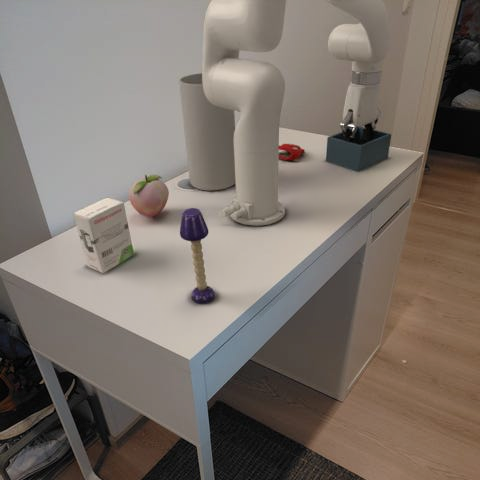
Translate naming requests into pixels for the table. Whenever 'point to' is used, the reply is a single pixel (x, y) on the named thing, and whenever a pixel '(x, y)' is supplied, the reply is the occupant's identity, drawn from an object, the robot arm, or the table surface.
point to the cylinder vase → (207, 137)
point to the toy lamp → (197, 251)
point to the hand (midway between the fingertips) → (357, 147)
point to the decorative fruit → (149, 195)
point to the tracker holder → (291, 151)
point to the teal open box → (357, 150)
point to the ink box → (104, 234)
